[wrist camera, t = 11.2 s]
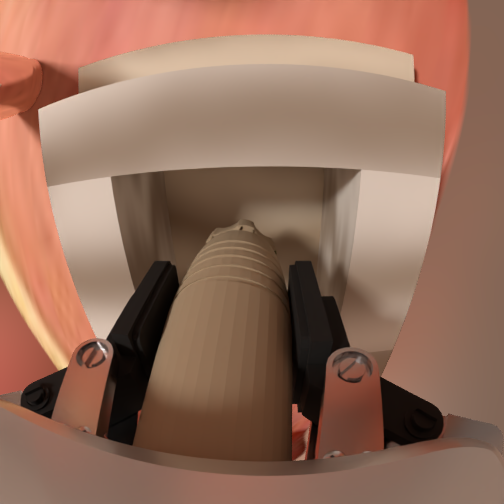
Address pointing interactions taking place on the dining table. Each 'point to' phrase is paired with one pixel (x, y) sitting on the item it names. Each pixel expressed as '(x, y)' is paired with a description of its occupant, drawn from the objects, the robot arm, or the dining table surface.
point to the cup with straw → (18, 84)
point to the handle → (224, 357)
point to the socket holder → (250, 168)
